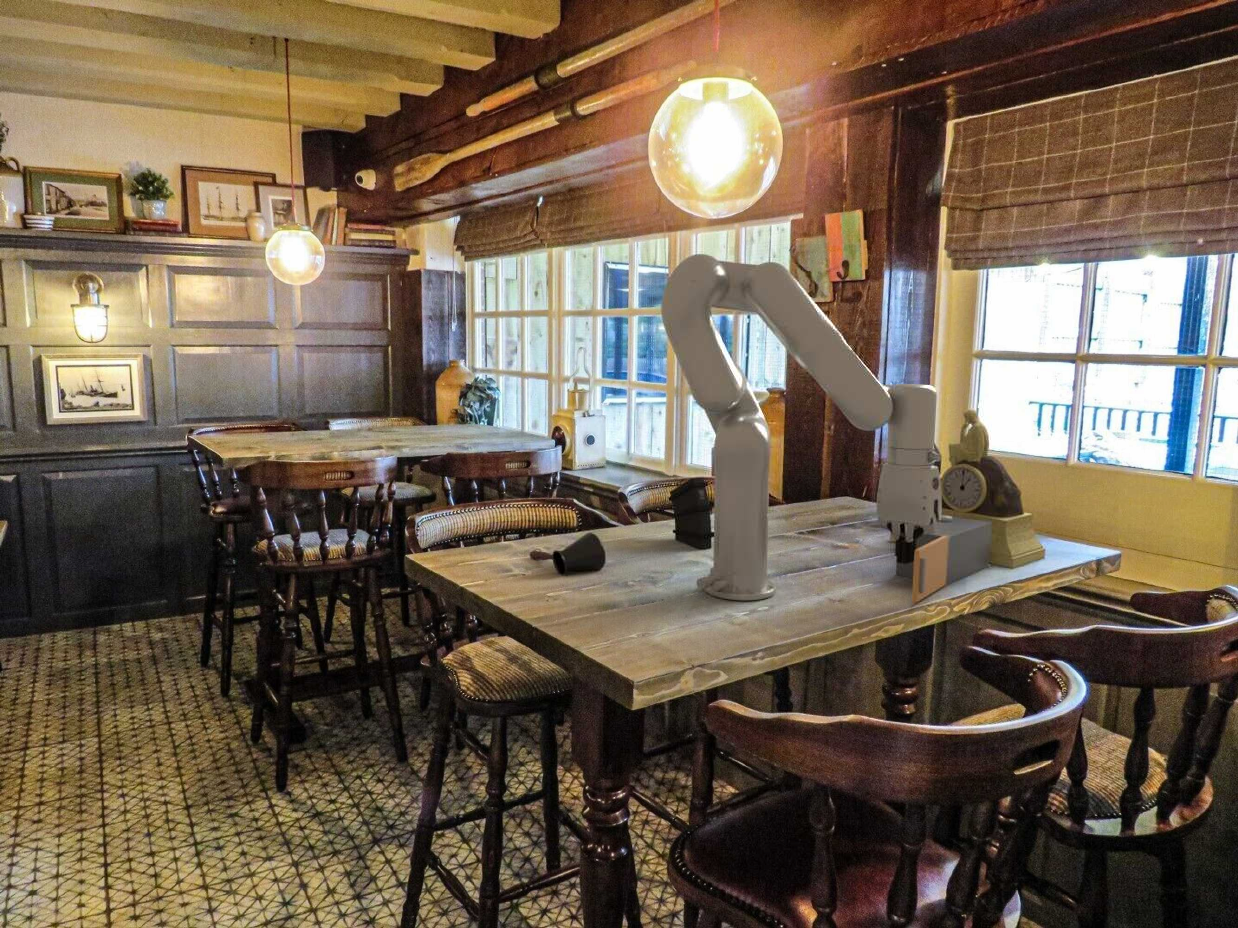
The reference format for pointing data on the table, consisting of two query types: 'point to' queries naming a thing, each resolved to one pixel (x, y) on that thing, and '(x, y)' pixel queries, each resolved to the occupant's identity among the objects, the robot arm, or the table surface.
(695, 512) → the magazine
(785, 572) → the table surface
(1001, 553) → the decorative clock
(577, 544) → the coffee pot
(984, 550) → the grey box with knob
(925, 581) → the side door
